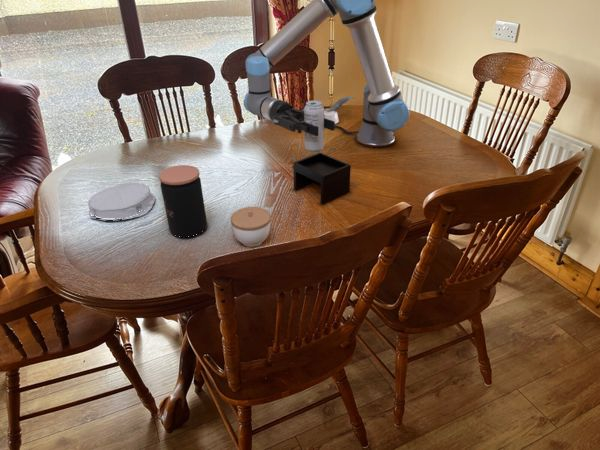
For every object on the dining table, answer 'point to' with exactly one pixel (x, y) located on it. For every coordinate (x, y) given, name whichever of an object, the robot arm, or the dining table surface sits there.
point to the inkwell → (335, 109)
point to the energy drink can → (316, 118)
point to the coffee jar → (183, 201)
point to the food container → (121, 201)
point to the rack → (323, 176)
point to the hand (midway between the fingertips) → (325, 128)
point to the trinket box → (251, 225)
